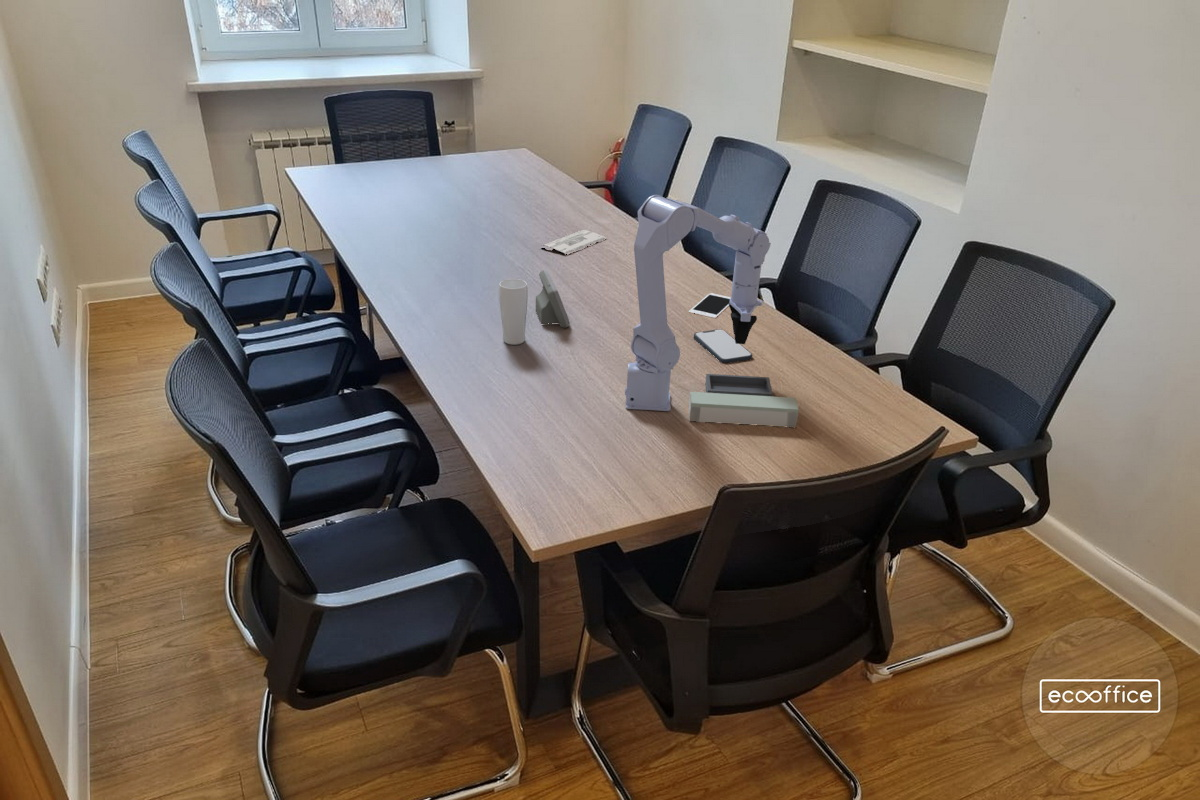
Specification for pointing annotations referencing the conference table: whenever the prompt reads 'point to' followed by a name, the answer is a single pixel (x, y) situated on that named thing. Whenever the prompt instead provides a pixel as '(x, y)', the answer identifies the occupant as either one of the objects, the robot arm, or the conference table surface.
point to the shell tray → (738, 385)
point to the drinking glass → (513, 310)
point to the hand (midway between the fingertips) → (739, 338)
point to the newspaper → (575, 241)
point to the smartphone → (722, 346)
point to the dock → (743, 409)
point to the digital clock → (550, 303)
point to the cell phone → (711, 305)
